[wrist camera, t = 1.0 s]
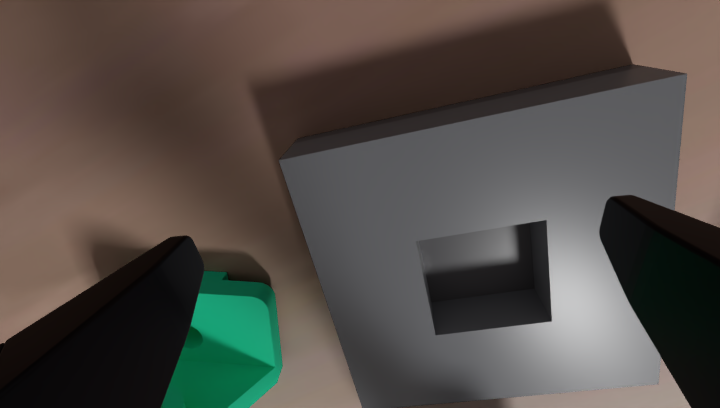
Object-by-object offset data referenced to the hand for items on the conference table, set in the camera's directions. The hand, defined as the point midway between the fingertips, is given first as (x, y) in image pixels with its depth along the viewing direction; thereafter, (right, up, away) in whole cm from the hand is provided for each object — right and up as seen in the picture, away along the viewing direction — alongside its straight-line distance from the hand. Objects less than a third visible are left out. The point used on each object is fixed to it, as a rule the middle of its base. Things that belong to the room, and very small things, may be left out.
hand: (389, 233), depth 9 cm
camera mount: (-12, -7, +21) cm, 25 cm away
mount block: (+7, -2, +16) cm, 18 cm away
